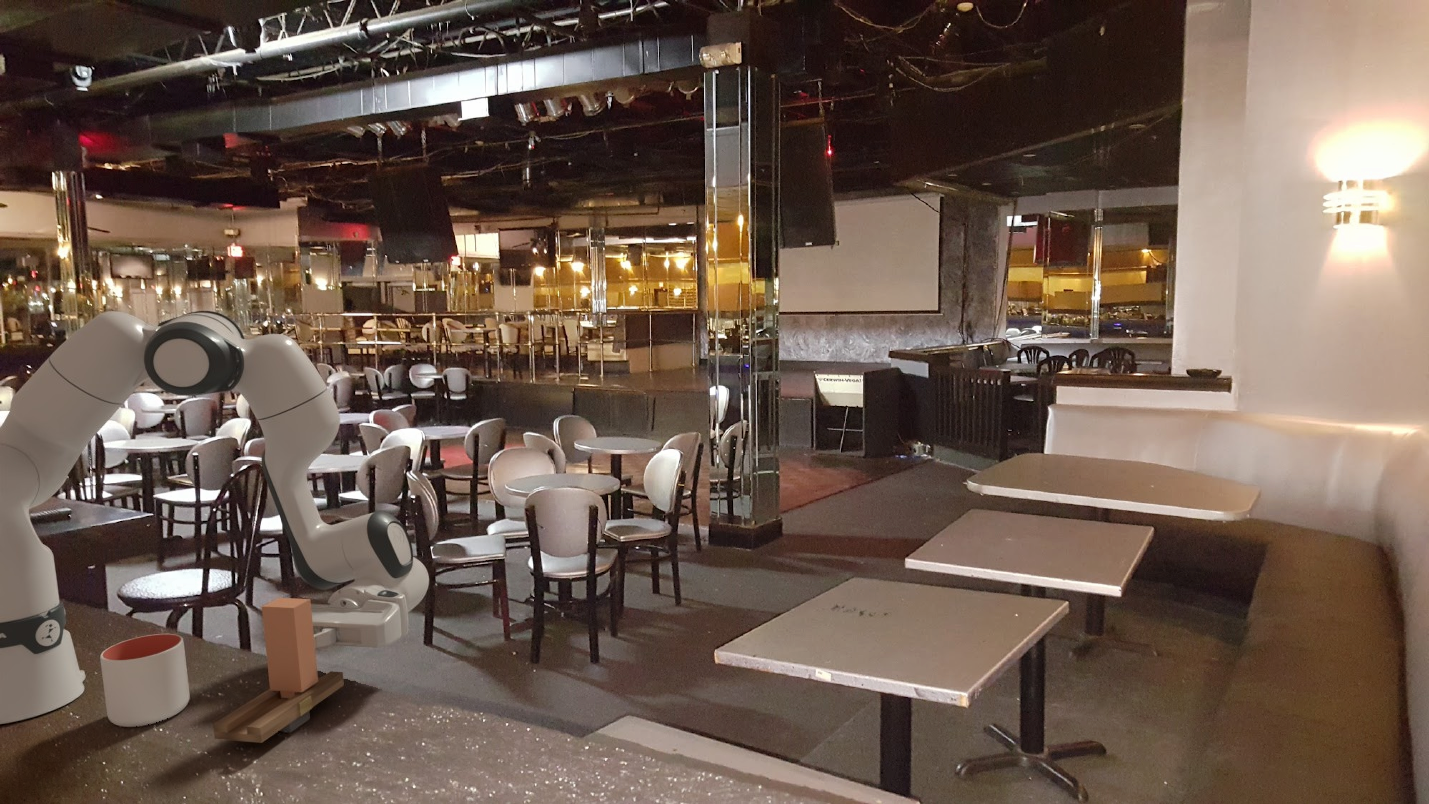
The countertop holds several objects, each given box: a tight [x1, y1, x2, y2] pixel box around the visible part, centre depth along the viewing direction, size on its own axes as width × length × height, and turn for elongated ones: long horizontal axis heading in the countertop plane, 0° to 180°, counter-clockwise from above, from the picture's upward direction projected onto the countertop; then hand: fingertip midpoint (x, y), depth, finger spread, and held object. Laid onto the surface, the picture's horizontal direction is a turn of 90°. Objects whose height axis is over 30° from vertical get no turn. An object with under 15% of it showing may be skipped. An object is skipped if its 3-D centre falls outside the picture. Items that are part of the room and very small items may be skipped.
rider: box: [261, 597, 319, 698], centre depth 126 cm, size 5×4×13 cm
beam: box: [212, 670, 345, 744], centre depth 124 cm, size 7×17×4 cm, turn 167°
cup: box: [99, 633, 191, 728], centre depth 129 cm, size 10×10×10 cm
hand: (298, 646), depth 128 cm, fingers closed, pressing on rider
